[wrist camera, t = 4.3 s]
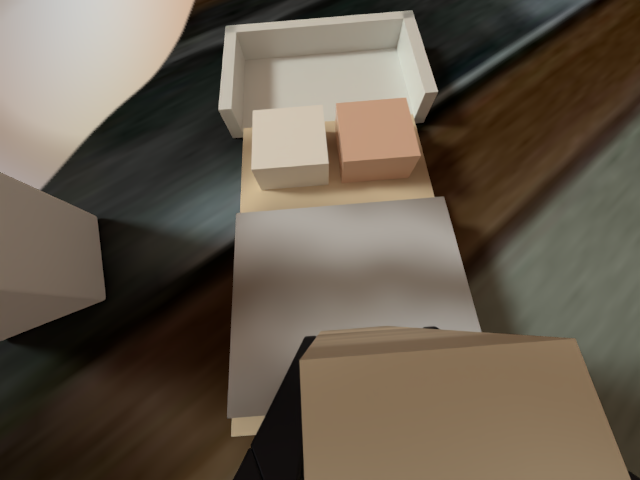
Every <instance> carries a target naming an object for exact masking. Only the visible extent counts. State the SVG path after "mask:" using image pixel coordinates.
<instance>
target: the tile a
mask: <svg viewBox="0 0 640 480" xmlns="http://www.w3.org/2000/svg"><path fill="white" fill-rule="evenodd" d="M251 170H252V172H253V174H254V176H255V178H256V180H257V182H258V184H259V186H260V188H261V190H269V189H282V188H294V187H307V186H319V185H329V161H328V151H327V142H326V132H325V122H324V112H323V105H312V106H300V107H288V108H276V109H264V110H253V119H252V159H251Z"/></svg>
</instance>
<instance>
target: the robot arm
mask: <svg viewBox="0 0 640 480" xmlns="http://www.w3.org/2000/svg"><path fill="white" fill-rule="evenodd" d="M423 328H426V329H439V328H437V327H435V326H429V327H423ZM315 338H316V336H305V337H304V339H303V341H302V343H301V345H300V347H299V349H298V351H297V353H296V355H295V357H294V359H293V361H292V363H291V365H290V367H289V369H288V371H287V373H286V375H285V377H284V379H283V381H282V383H281V385H280V387H279V389H278V391H277V393H276V395H275V397H274V399H273V401H272V403H271V405H270V407H269V409H268V411H267V413H266V415H265V417H264V419H263V421H262V423H261V425H260V427H259V429H258V431H257V433H256V435H255V437H254V439H253V441H252V443H251V448H252V449H251V448H249V449H248V451H247V453H246V455H245V457H244V459H243V461H242V463H241V465H240V467H239V469H238V471H237V473H236V475H235V477H234V479H233V480H304V457H303V433H302V409H301V385H300V361H299V360H300V359H301V357H302V356H303V355H304V353H305V352H306V351H307V349H308V348H309V346H310V345H311V344H312V342H313V341H314V340H315ZM627 471H628V470H627ZM628 473H629V476H630V478H631V480H640V478H638V477H637V476H636V475H634V474H633V473H631V472H630V471H628Z"/></svg>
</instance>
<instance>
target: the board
mask: <svg viewBox="0 0 640 480" xmlns="http://www.w3.org/2000/svg"><path fill="white" fill-rule="evenodd" d="M411 118H412V122H413V126H414V130H415V134H416V138H417V142H418V146H419V149H420V153H421V157H420V158H419V160H418V162H417V164H416V166H415V167H414V169H413V171H412V173H411V174H410V176H409V178H401V179H389V180H376V181H364V182H351V183H341V177H340V169H339V160H338V152H337V143H336V135H335V121H325V132H326V142H327V151H328V161H329V185H319V186H307V187H294V188H282V189H269V190H261V188H260V186H259V184H258V182H257V180H256V178H255V176H254V174H253V172H252V170H251V159H252V128H244V130H243V155H242V179H241V204H240V213H246V212H258V211H271V210H283V209H295V208H308V207H320V206H332V205H345V204H357V203H370V202H382V201H394V200H407V199H419V198H432V197H434V193H433V189H432V185H431V181H430V178H429V174H428V170H427V166H426V162H425V159H424V155H423V151H422V147H421V143H420V139H419V136H418V132H417V128H416V124H415V120H414V116H413V114H411ZM264 417H265V416H252V417H239V418H232V428H231V437H234V436H248V435H256V433H257V431H258V429H259V427H260V425H261V423H262V421H263V419H264Z"/></svg>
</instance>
